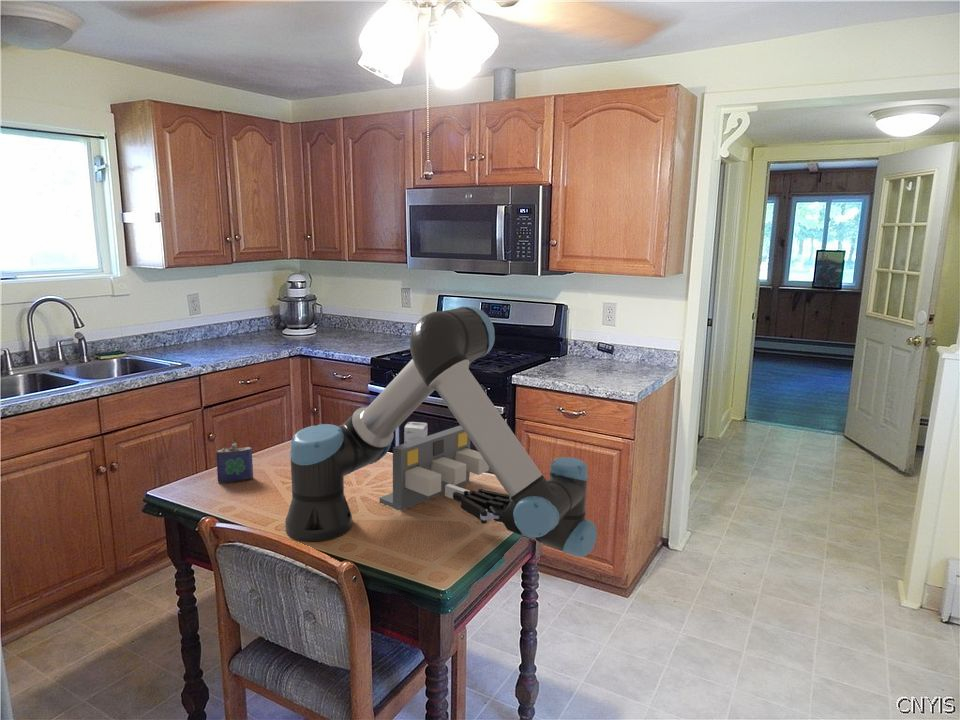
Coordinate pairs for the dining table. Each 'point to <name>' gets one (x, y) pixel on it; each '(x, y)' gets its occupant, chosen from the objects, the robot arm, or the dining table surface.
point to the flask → (234, 464)
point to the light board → (423, 464)
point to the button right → (471, 460)
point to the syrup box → (414, 431)
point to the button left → (422, 480)
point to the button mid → (449, 470)
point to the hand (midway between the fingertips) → (447, 489)
